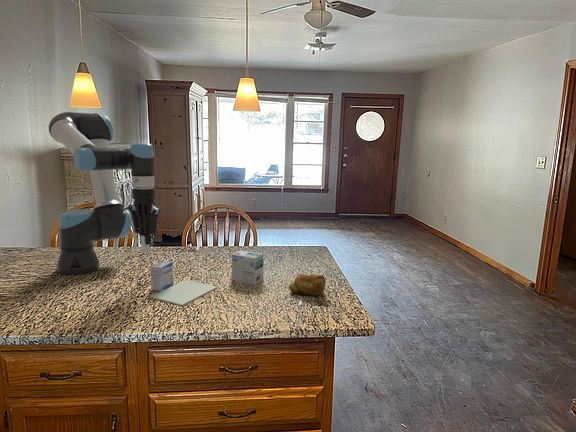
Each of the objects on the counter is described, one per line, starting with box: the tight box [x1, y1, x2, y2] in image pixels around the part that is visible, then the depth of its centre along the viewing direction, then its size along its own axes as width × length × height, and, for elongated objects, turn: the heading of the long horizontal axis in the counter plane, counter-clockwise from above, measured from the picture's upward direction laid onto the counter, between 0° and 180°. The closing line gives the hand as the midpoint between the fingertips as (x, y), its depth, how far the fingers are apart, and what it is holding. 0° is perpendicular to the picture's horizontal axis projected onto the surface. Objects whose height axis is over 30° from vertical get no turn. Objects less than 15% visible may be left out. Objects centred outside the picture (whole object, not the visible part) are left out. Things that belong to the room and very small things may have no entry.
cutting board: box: [149, 279, 218, 307], centre depth 144 cm, size 14×19×1 cm
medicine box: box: [150, 260, 174, 292], centre depth 148 cm, size 8×4×9 cm, turn 167°
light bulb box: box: [231, 250, 265, 286], centre depth 158 cm, size 11×7×11 cm, turn 65°
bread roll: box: [288, 273, 327, 297], centre depth 148 cm, size 13×10×8 cm
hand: (145, 252), depth 149 cm, fingers closed
